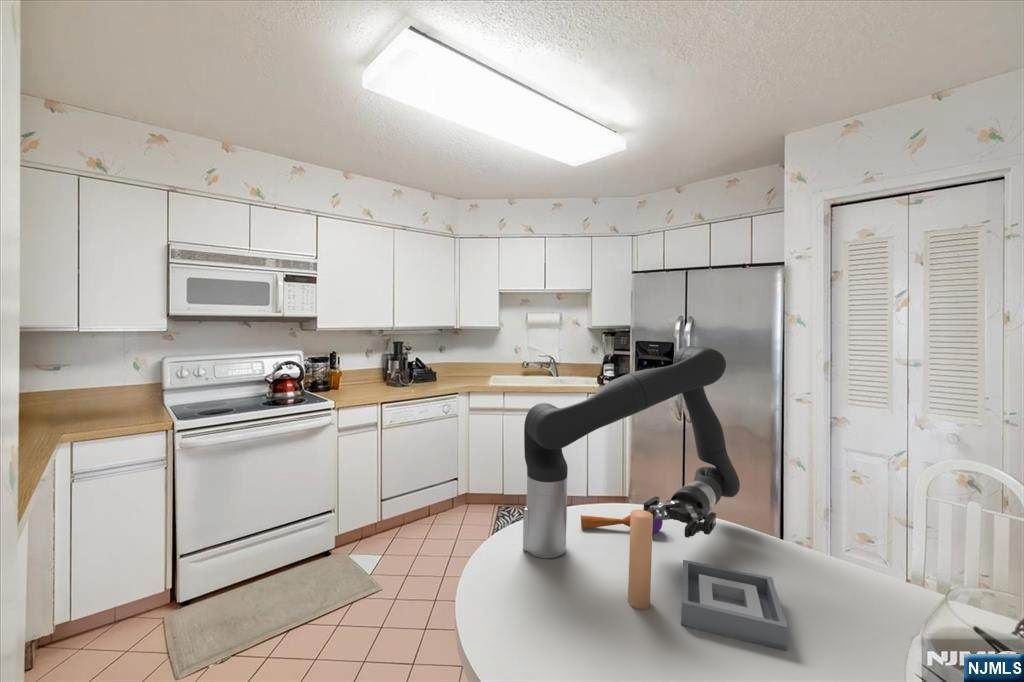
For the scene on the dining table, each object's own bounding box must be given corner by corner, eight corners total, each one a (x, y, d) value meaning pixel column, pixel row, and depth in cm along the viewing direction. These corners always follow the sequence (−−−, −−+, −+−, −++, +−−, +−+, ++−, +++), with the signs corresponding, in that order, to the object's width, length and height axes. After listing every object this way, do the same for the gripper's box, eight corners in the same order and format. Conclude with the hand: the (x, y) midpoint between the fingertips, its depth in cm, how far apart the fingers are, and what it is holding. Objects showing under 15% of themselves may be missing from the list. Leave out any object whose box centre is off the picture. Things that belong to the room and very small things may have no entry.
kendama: (579, 507, 117) (658, 505, 115) (581, 531, 117) (660, 529, 115) (580, 512, 112) (663, 511, 110) (582, 538, 111) (665, 536, 109)
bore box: (681, 624, 79) (681, 602, 78) (682, 578, 93) (682, 559, 92) (786, 650, 73) (787, 627, 73) (770, 597, 87) (771, 577, 86)
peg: (626, 606, 83) (629, 516, 82) (629, 593, 87) (631, 508, 86) (649, 611, 82) (652, 520, 81) (650, 598, 86) (653, 511, 85)
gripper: (664, 478, 109) (633, 498, 97) (727, 493, 100) (701, 518, 87) (663, 508, 109) (633, 532, 97) (726, 526, 100) (700, 556, 88)
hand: (665, 526), depth 92 cm, fingers open, 8 cm apart
